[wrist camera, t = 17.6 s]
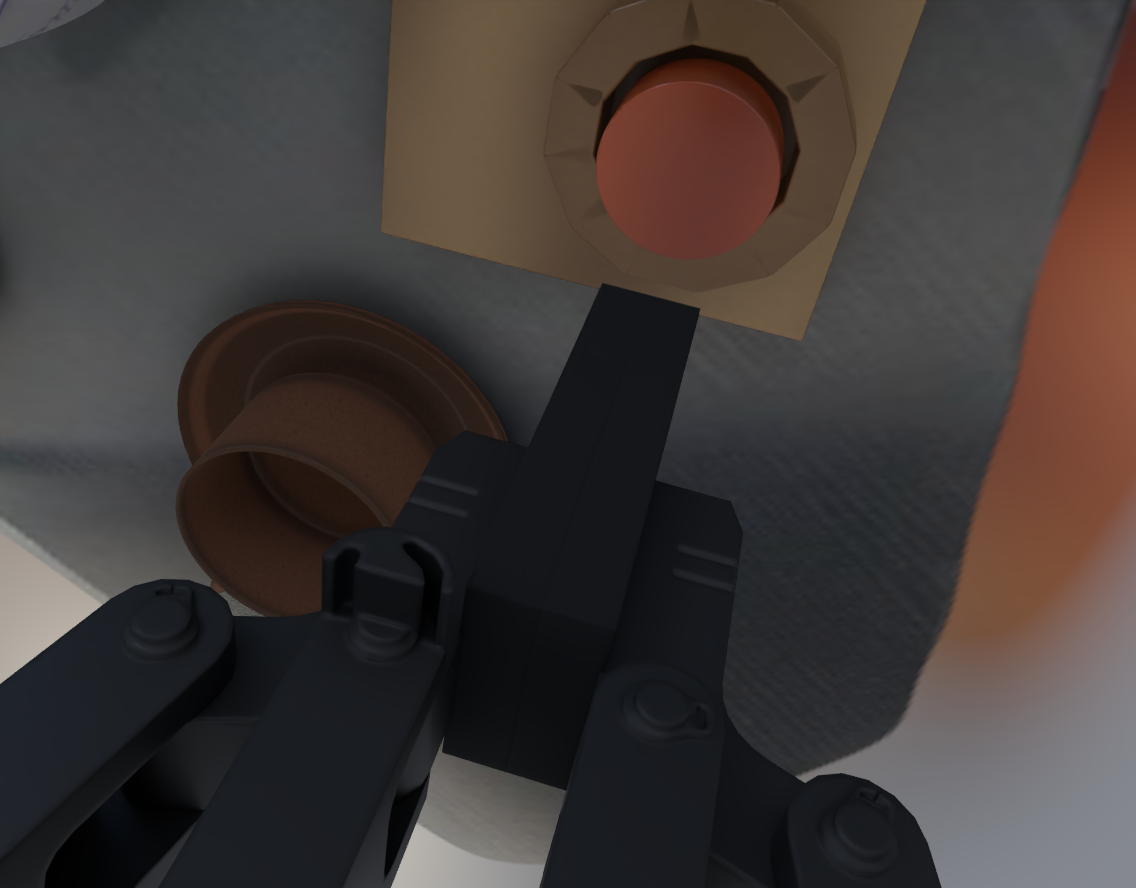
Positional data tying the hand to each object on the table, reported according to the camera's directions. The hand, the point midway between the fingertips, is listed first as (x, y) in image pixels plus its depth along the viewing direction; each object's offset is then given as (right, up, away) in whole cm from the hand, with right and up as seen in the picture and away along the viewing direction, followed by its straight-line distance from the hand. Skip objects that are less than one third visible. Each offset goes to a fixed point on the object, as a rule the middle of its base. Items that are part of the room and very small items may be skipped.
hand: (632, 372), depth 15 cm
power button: (+2, +6, +7) cm, 10 cm away
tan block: (+1, +8, +10) cm, 13 cm away
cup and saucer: (-8, -1, +20) cm, 21 cm away
